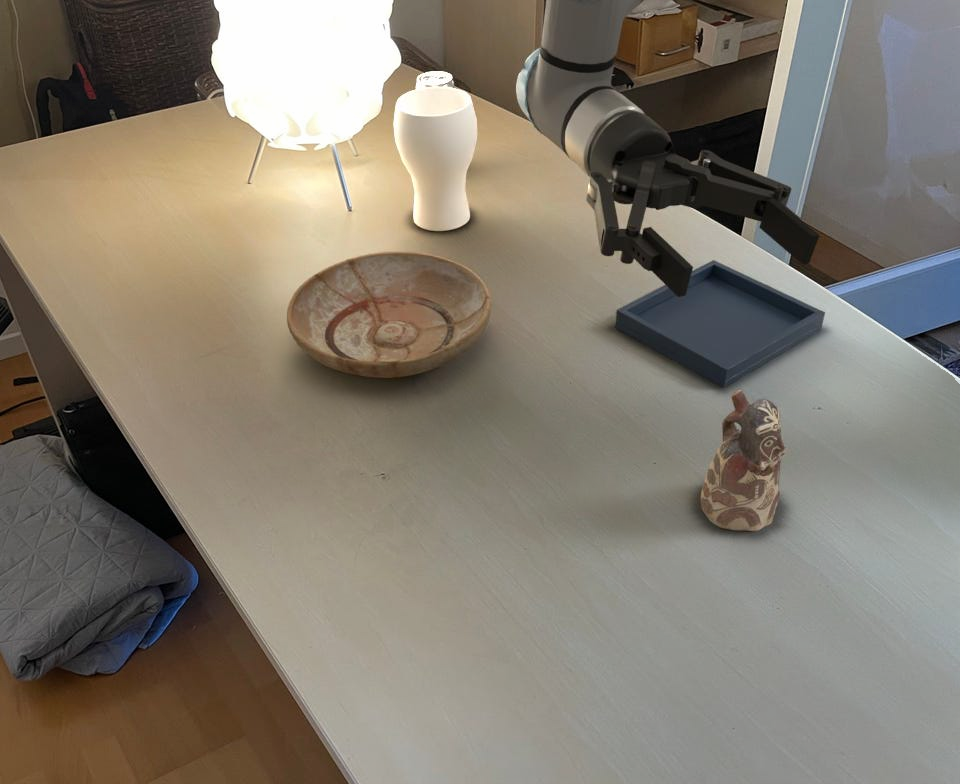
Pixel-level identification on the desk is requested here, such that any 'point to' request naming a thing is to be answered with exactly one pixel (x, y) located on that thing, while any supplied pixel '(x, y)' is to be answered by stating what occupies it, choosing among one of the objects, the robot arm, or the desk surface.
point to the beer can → (434, 80)
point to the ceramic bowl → (389, 313)
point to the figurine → (745, 467)
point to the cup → (437, 152)
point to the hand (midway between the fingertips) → (750, 266)
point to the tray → (720, 323)
